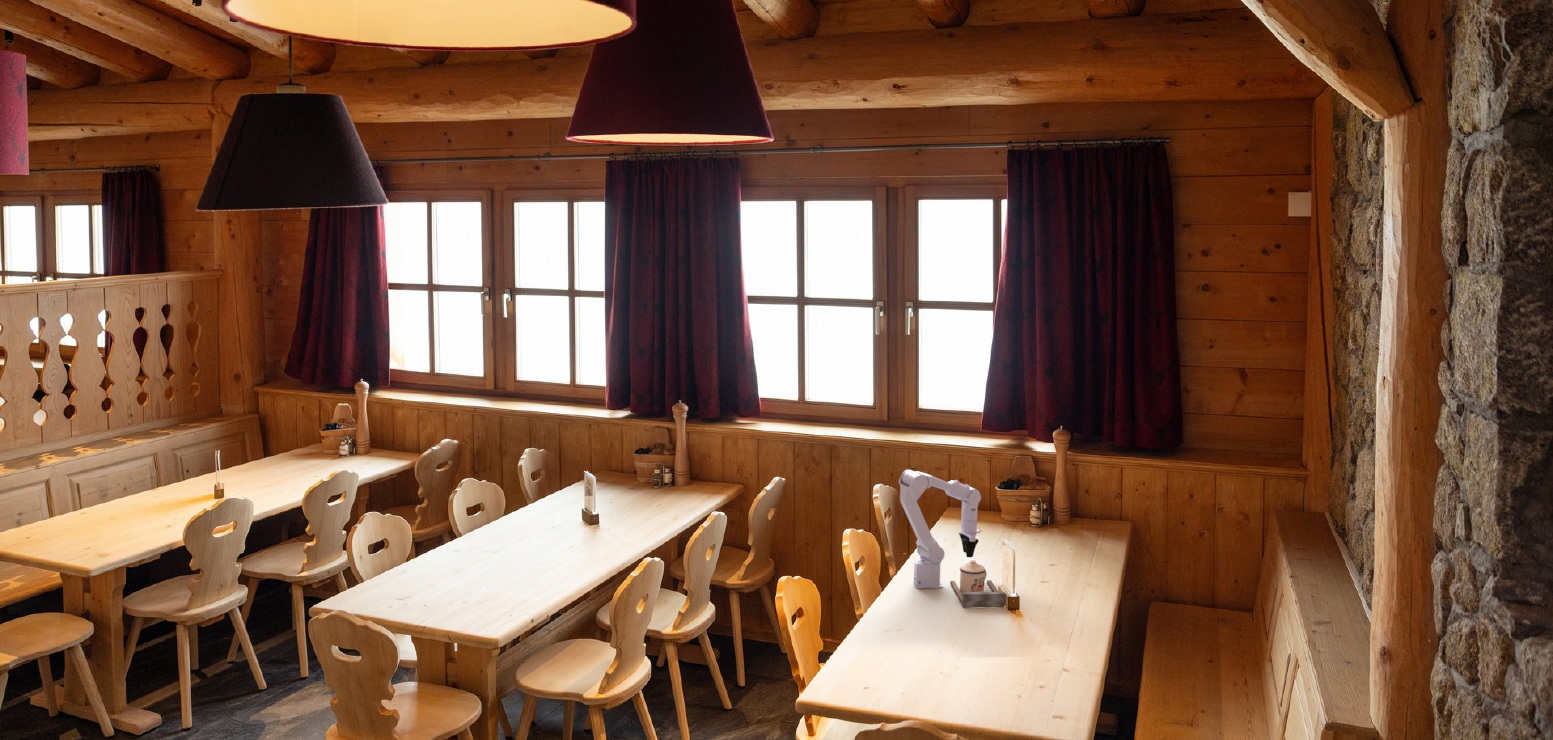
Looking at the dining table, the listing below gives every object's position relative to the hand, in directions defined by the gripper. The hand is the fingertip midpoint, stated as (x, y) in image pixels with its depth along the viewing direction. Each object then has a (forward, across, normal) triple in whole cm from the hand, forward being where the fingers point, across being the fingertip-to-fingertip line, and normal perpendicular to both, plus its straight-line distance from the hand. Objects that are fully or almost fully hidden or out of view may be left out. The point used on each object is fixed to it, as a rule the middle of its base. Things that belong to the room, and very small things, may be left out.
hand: (968, 554), depth 439 cm
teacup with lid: (+10, -13, 0) cm, 16 cm away
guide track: (+9, -17, 0) cm, 19 cm away
